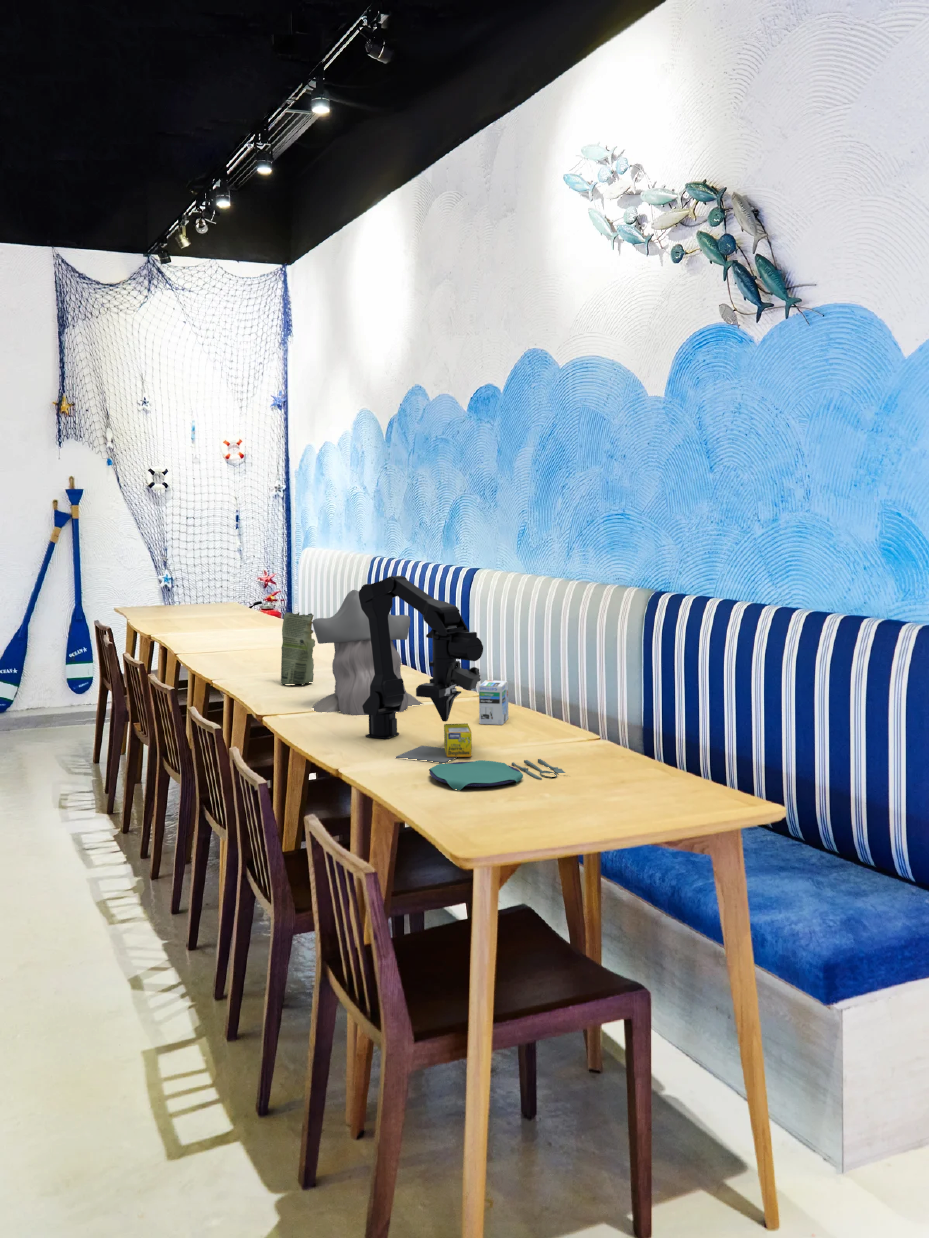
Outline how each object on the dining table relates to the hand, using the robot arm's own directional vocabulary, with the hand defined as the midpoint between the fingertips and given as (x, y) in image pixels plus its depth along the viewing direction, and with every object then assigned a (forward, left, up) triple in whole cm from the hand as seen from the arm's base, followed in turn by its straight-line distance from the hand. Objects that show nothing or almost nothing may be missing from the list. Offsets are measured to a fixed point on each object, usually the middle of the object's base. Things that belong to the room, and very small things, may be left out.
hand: (445, 721), depth 249 cm
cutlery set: (+22, -19, -8) cm, 30 cm away
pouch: (-91, +67, -7) cm, 113 cm away
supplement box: (+2, +2, -4) cm, 5 cm away
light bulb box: (-4, +37, -7) cm, 38 cm away
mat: (0, -7, -7) cm, 10 cm away
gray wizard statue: (-49, +42, -7) cm, 65 cm away
